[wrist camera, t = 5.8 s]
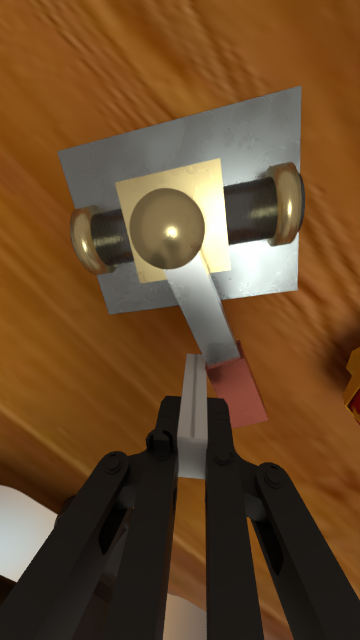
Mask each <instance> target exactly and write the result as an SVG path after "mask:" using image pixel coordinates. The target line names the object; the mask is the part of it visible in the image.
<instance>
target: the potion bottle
mask: <svg viewBox="0 0 360 640" xmlns="http://www.w3.org/2000/svg"><path fill="white" fill-rule="evenodd" d="M346 369H347V370H348V371H349V372H350V374H351V375H352V377H351V379H350V381H349V383H348V385H347V387H346V389H345V391H344V393H343V400H344V404H345V407H346V408H347V409H348V410H349V412H350V413H351V414H352V415H353V416H354V418H355V420H356V421H357V422H358V423H359V425H360V347H358V348H357V349H355V350H353V351H352V353H351V355H350V358H349V360H348V363H347V366H346Z"/></svg>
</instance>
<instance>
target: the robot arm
mask: <svg viewBox="0 0 360 640" xmlns="http://www.w3.org/2000/svg"><path fill="white" fill-rule="evenodd" d="M146 445H147V449H146V450H145V451H143V452H141V453H139V454H135V455H131V456H127V455H126V454H125V453H123V452H120V451H114V452H110V453H109V454H107V455H105V456H104V457H103V458H102V459H101V460H100V462H99V463H98V465H97V466H96V468H95V469H94V470H93V472H92V473H91V475H90V476H89V478H88V479H87V481H86V482H85V484H84V485H83V487H82V488H81V489H80V491H79V492H78V494H77V495H76V496H75V497H72V498H70V499H68V500H67V501H66V502H65V503H64V504H63V506H62V508H61V510H60V512H59V514H58V516H57V518H56V521H55V525H54V529H53V530H52V532H51V534H50V535H49V536H48V538H47V539H46V541H45V542H44V544H43V545H42V547H41V548H40V549H39V551H38V552H37V554H36V555H35V557H34V558H33V560H32V561H31V563H30V564H29V566H28V567H27V568H26V570H25V571H24V573H23V574H22V576H21V577H20V579H19V580H18V582H15V581H12V580H10V579H8V578H6V577H4V576H2V575H0V640H163V631H164V620H165V610H166V600H167V590H168V580H169V570H170V560H171V550H172V540H173V530H174V520H175V510H176V500H177V481H178V477H188V478H198V479H205V487H206V488H205V516H206V606H207V640H264V635H263V628H262V621H261V614H260V607H259V601H258V594H257V587H256V580H255V573H254V566H253V559H252V553H251V546H250V539H249V532H248V525H247V518H246V516H247V517H249V518H250V519H251V522H252V524H253V527H254V530H255V533H256V536H257V538H258V541H259V544H260V547H261V549H262V552H263V555H264V558H265V560H266V563H267V566H268V569H269V571H270V574H271V577H272V580H273V582H274V585H275V588H276V591H277V593H278V596H279V599H280V602H281V604H282V607H283V610H284V613H285V616H286V618H287V621H288V624H289V627H290V629H291V632H292V635H293V638H294V640H360V600H359V599H358V597H357V595H356V593H355V592H354V590H353V588H352V586H351V584H350V583H349V581H348V579H347V577H346V576H345V574H344V572H343V570H342V569H341V567H340V565H339V563H338V562H337V560H336V558H335V556H334V555H333V553H332V551H331V549H330V548H329V546H328V544H327V542H326V541H325V539H324V537H323V535H322V534H321V532H320V530H319V528H318V526H317V525H316V523H315V521H314V519H313V518H312V516H311V514H310V512H309V511H308V509H307V507H306V505H305V504H304V502H303V500H302V498H301V497H300V495H299V493H298V491H297V490H296V488H295V486H294V484H293V483H292V481H291V479H290V477H289V476H288V474H287V473H286V472H285V470H284V469H283V468H281V467H280V466H279V465H277V464H274V463H271V462H265V463H262V464H260V465H259V466H257V465H254V464H252V463H249V462H247V461H245V460H244V459H242V458H241V457H240V456H239V455H238V454H237V452H236V451H235V449H234V445H233V438H232V430H231V422H230V415H229V407H228V404H227V403H226V401H225V400H224V398H207V382H206V371H205V359H204V357H203V355H202V354H187V357H186V365H185V374H184V382H183V391H182V397H179V396H166V397H165V398H164V399H163V400H162V402H161V405H160V409H159V414H158V418H157V423H156V427H155V429H154V430H152V431H151V432H150V433H149V434H148V436H147V438H146ZM133 507H134V508H133ZM132 508H133V510H132Z"/></svg>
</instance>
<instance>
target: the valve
mask: <svg viewBox="0 0 360 640" xmlns="http://www.w3.org/2000/svg"><path fill="white" fill-rule="evenodd" d="M300 132H301V86H298V87H294V88H290V89H287V90H283V91H279V92H276V93H272V94H268V95H265V96H261V97H257V98H253V99H250V100H246V101H242V102H239V103H235V104H231V105H228V106H224V107H220V108H216V109H213V110H209V111H205V112H202V113H198V114H194V115H191V116H187V117H183V118H179V119H176V120H172V121H168V122H165V123H161V124H157V125H154V126H150V127H146V128H142V129H139V130H135V131H131V132H128V133H124V134H120V135H117V136H113V137H109V138H105V139H102V140H98V141H94V142H91V143H87V144H83V145H80V146H76V147H72V148H68V149H65V150H61V151H57V152H58V156H59V159H60V162H61V165H62V168H63V171H64V174H65V177H66V181H67V184H68V187H69V190H70V193H71V196H72V199H73V203H74V206H75V210H74V211H73V213H72V215H71V219H70V234H71V241H72V245H73V248H74V250H75V252H76V255H77V256H78V258H79V260H80V261H81V263H82V264H83V266H84V267H85V268H86V269H87V270H88V271H89V272H90V273H92V274H94V275H97V278H98V281H99V284H100V287H101V290H102V293H103V296H104V300H105V303H106V306H107V309H108V312H109V314H117V313H124V312H132V311H140V310H147V309H155V308H163V307H170V306H178V305H179V303H178V301H177V299H176V297H175V295H174V292H173V290H172V288H171V286H170V284H169V282H168V279H167V277H166V275H165V273H164V271H163V269H160V268H156V267H154V266H152V265H150V264H148V263H147V262H146V261H144V260H143V259H142V258H141V257H140V256H139V254H138V253H137V252H136V250H135V248H134V246H133V244H132V241H131V237H130V229H129V226H130V218H131V215H132V212H133V209H134V207H135V206H136V204H137V203H138V201H139V200H140V199H141V198H142V197H143V196H144V195H146V194H147V193H149V192H151V191H153V190H156V189H160V188H172V189H176V190H179V191H182V192H183V193H185V194H187V195H188V196H189V197H191V198H192V199H193V200H194V201H195V203H196V204H197V205H198V206H199V208H200V209H201V211H202V213H203V216H204V219H205V236H204V241H203V244H202V247H201V249H200V250H201V253H202V255H203V258H204V260H205V263H206V265H207V268H208V270H209V273H210V275H211V278H212V281H213V283H214V286H215V288H216V291H217V293H218V296H219V298H220V300H224V299H231V298H239V297H247V296H254V295H262V294H270V293H277V292H285V291H293V290H297V279H298V232H299V230H300V228H301V225H302V222H303V217H304V209H305V191H304V184H303V180H302V177H301V175H300Z"/></svg>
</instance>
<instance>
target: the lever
mask: <svg viewBox="0 0 360 640" xmlns="http://www.w3.org/2000/svg"><path fill="white" fill-rule="evenodd" d="M129 229H130V237H131V241H132V244H133V246H134V248H135V250H136V252H137V253H138V254H139V256H140V257H141V258H142V259H143V260H144V261H146V262H147V263H148V264H150V265H152V266H154V267H156V268H160V269H163V271H164V273H165V275H166V277H167V279H168V282H169V284H170V286H171V288H172V290H173V292H174V295H175V297H176V299H177V301H178V303H179V305H180V307H181V310H182V312H183V314H184V316H185V318H186V320H187V322H188V325H189V327H190V329H191V331H192V333H193V335H194V337H195V340H196V342H197V344H198V346H199V348H200V350H201V352H202V355H203V357H204V359H205V371H206V373H207V375H208V377H209V379H210V381H211V383H212V385H213V388H214V390H215V392H216V394H217V396H218V398H224V400H225V401H226V403H227V404H228V407H229V415H230V422H231V426H232V428H236V427H241V426H245V425H250V424H254V423H259V422H263V421H268V416H267V413H266V410H265V406H264V403H263V400H262V396H261V394H260V391H259V389H258V386H257V384H256V381H255V378H254V376H253V373H252V371H251V368H250V366H249V363H248V360H247V358H246V355H245V353H244V350H243V348H242V345H241V342H240V340H239V341H236V339H235V336H234V334H233V331H232V329H231V326H230V324H229V321H228V318H227V316H226V313H225V311H224V308H223V306H222V303H221V301H220V298H219V296H218V293H217V291H216V288H215V286H214V283H213V281H212V278H211V275H210V273H209V270H208V268H207V265H206V263H205V260H204V258H203V255H202V253H201V250H200V249H201V247H202V244H203V241H204V236H205V219H204V216H203V213H202V211H201V209H200V208H199V206H198V205H197V204H196V203H195V201H194V200H193V199H192V198H191V197H189V196H188V195H187V194H185V193H183V192H182V191H179V190H176V189H172V188H160V189H156V190H153V191H151V192H149V193H147V194H146V195H144V196H143V197H142V198H141V199H140V200H139V201H138V203H137V204H136V206H135V207H134V209H133V212H132V215H131V218H130V226H129Z"/></svg>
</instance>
